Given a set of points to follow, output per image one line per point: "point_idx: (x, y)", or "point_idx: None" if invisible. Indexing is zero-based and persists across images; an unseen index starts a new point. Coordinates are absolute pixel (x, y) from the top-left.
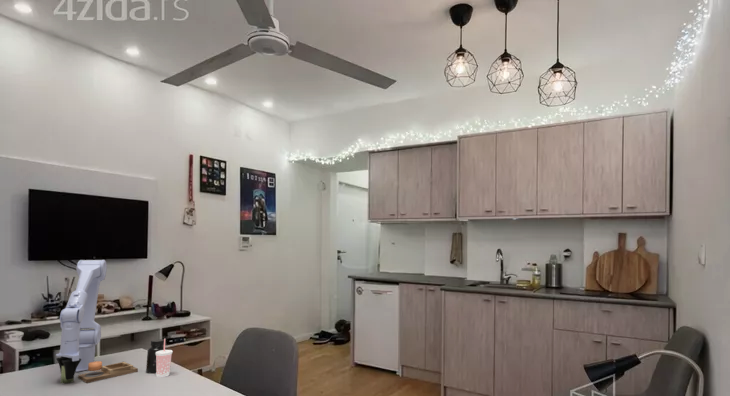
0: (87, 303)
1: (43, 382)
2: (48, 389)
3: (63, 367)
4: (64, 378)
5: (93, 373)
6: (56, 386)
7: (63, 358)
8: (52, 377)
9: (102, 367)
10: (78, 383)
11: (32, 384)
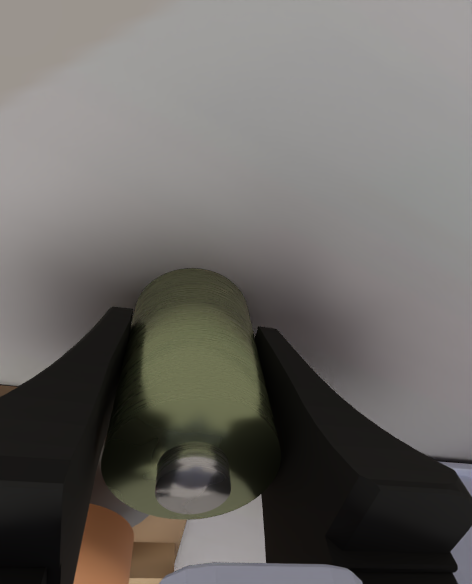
0: None
1: (406, 196)
2: (65, 67)
3: (163, 393)
4: (151, 307)
5: (107, 495)
6: (116, 187)
7: (329, 546)
8: (461, 318)
9: (143, 573)
10: (31, 344)
11: (468, 89)
